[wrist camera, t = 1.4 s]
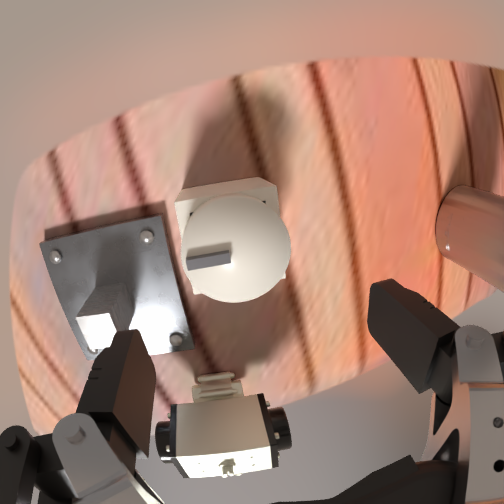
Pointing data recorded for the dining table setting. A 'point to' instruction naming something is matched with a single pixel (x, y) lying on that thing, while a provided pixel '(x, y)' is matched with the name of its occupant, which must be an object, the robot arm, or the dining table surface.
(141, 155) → the dining table surface
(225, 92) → the dining table surface
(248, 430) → the pneumatic valve
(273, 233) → the knob
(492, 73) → the dining table surface
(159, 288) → the shaft mount
